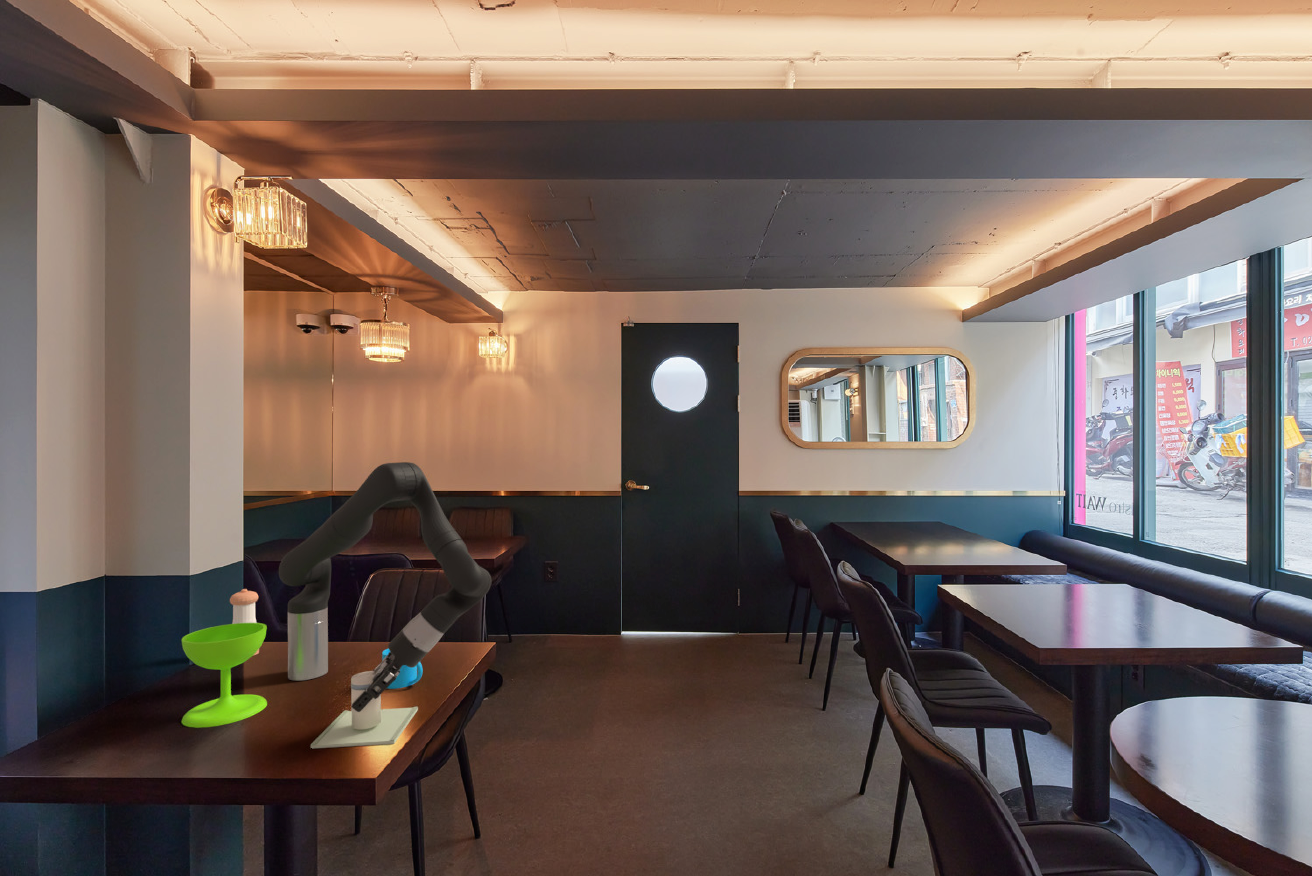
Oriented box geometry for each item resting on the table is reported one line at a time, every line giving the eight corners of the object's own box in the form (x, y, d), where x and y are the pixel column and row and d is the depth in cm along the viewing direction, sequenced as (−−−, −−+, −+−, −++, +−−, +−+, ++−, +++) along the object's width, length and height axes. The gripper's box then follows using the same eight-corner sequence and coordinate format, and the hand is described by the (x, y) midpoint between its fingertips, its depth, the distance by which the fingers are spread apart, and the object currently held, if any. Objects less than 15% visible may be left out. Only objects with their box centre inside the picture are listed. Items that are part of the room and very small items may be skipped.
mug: (375, 685, 154) (375, 653, 154) (402, 674, 161) (401, 643, 161) (408, 693, 148) (408, 660, 148) (434, 682, 155) (434, 650, 156)
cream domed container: (353, 720, 130) (352, 673, 131) (382, 715, 132) (381, 669, 133) (349, 731, 125) (349, 682, 125) (380, 726, 127) (379, 678, 127)
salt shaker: (222, 658, 176) (222, 591, 177) (243, 650, 183) (243, 586, 184) (244, 659, 175) (244, 592, 176) (265, 651, 182) (264, 586, 183)
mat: (344, 714, 137) (344, 710, 137) (417, 710, 138) (417, 706, 138) (310, 748, 121) (310, 744, 121) (394, 743, 122) (394, 739, 122)
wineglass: (219, 697, 148) (219, 622, 148) (282, 697, 147) (282, 622, 147) (162, 727, 132) (162, 643, 132) (233, 728, 131) (232, 643, 131)
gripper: (404, 619, 138) (346, 680, 134) (402, 637, 125) (337, 705, 121) (430, 640, 140) (373, 701, 136) (430, 660, 127) (367, 728, 122)
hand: (357, 702), depth 128 cm, fingers open, 6 cm apart
